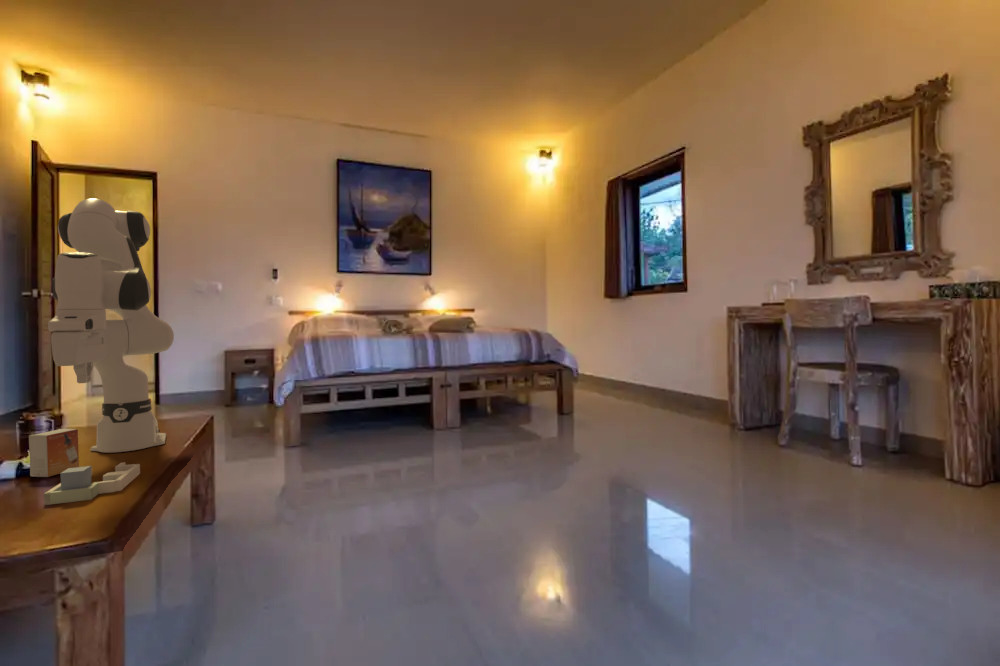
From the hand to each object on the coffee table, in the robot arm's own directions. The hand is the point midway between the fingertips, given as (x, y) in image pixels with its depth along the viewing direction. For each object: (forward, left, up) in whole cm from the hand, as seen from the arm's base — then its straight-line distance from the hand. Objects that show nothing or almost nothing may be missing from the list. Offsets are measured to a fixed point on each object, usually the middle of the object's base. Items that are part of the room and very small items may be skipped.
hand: (84, 382), depth 118 cm
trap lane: (0, +2, -24) cm, 24 cm away
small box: (-18, -13, -24) cm, 33 cm away
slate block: (+8, 0, -24) cm, 25 cm away
